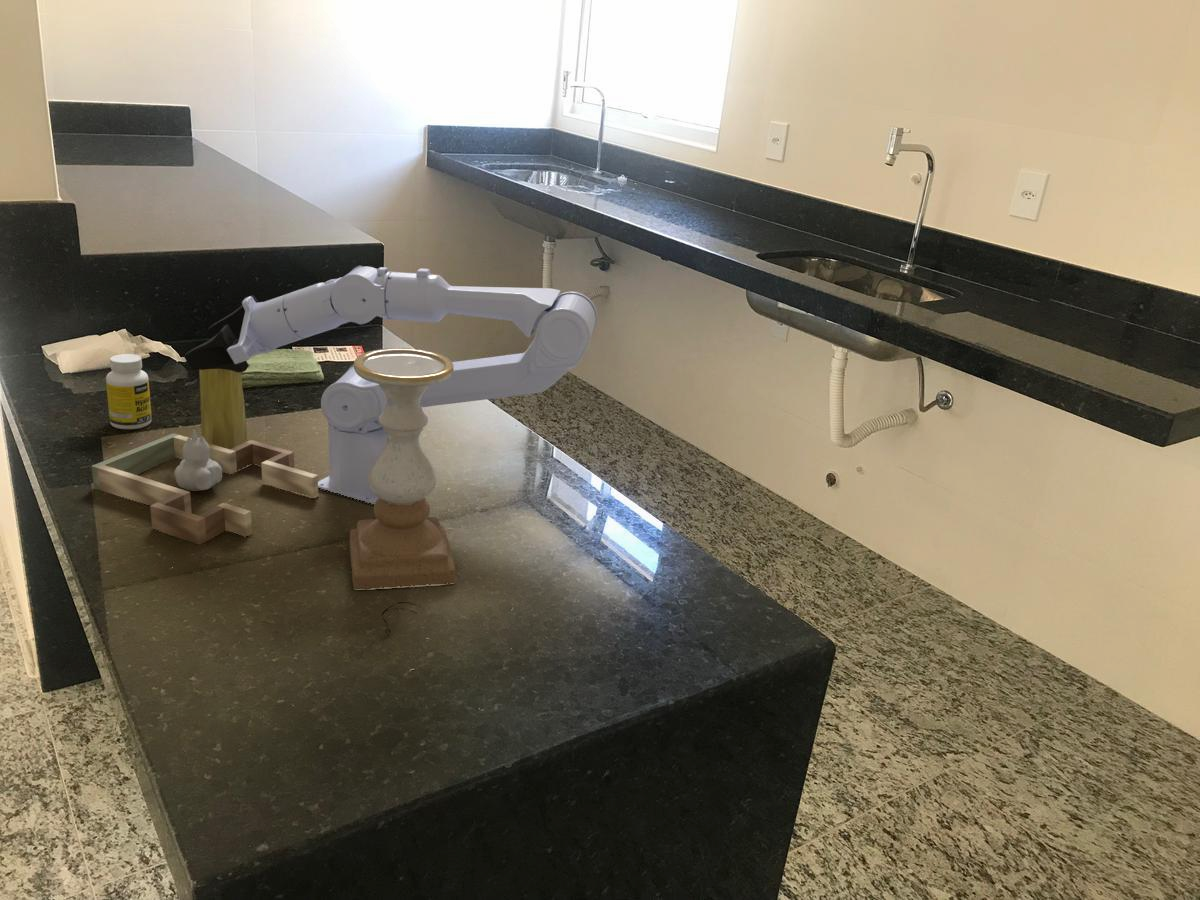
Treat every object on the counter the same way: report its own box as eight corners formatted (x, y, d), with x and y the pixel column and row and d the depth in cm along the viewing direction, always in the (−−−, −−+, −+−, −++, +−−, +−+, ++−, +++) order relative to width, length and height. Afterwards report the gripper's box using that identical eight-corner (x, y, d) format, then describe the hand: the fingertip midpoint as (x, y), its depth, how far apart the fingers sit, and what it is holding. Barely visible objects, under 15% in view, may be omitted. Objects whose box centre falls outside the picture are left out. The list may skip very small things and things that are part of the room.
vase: (218, 459, 130) (211, 357, 125) (192, 445, 134) (184, 346, 128) (257, 447, 135) (253, 349, 130) (231, 434, 138) (226, 338, 133)
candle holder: (353, 591, 104) (351, 379, 94) (349, 542, 113) (347, 345, 104) (456, 585, 107) (464, 379, 97) (443, 538, 116) (450, 346, 107)
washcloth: (327, 385, 162) (327, 367, 160) (214, 393, 154) (213, 373, 153) (312, 361, 172) (311, 343, 171) (205, 366, 165) (204, 348, 163)
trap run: (338, 485, 127) (337, 464, 125) (220, 552, 108) (219, 528, 107) (197, 444, 134) (195, 424, 133) (65, 500, 116) (62, 477, 115)
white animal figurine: (216, 476, 126) (212, 419, 123) (229, 497, 121) (225, 438, 118) (171, 483, 123) (166, 424, 120) (182, 505, 118) (178, 444, 115)
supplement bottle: (142, 432, 136) (135, 365, 133) (103, 428, 136) (95, 362, 132) (158, 418, 141) (153, 354, 138) (121, 415, 141) (114, 350, 137)
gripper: (298, 265, 123) (206, 297, 126) (260, 311, 111) (159, 346, 114) (324, 313, 127) (234, 344, 130) (290, 364, 114) (191, 396, 117)
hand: (201, 348), depth 122 cm, fingers open, 7 cm apart
